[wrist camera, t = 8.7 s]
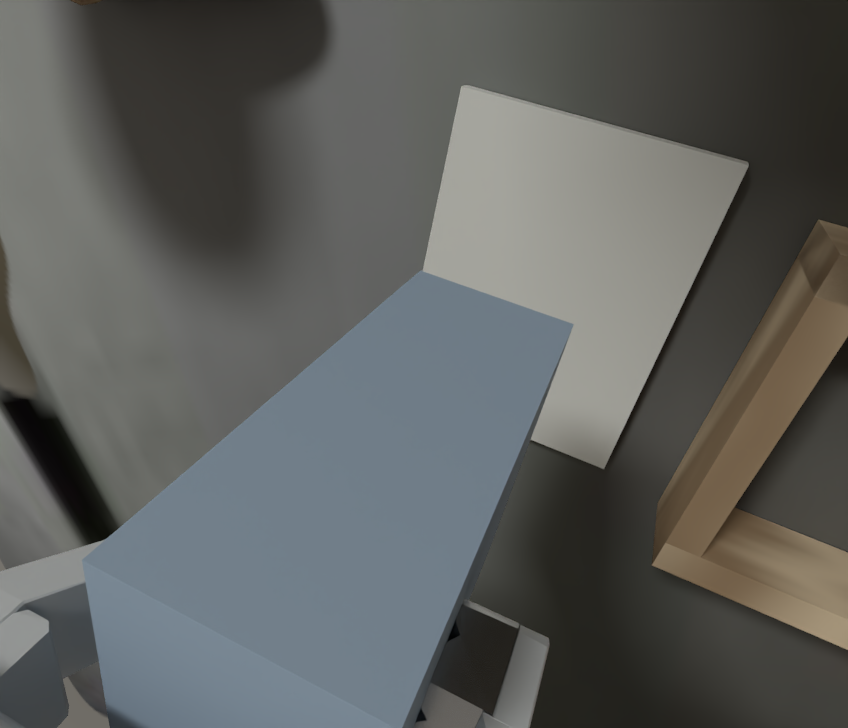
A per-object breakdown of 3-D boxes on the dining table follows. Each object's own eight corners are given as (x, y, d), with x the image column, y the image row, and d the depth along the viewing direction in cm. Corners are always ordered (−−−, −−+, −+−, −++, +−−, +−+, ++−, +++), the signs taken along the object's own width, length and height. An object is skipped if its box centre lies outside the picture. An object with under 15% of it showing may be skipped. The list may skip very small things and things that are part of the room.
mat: (747, 162, 18) (749, 165, 18) (605, 460, 24) (603, 469, 24) (467, 85, 20) (461, 86, 20) (404, 379, 26) (398, 386, 26)
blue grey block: (573, 324, 13) (400, 732, 5) (489, 548, 16) (320, 968, 9) (420, 270, 13) (81, 559, 6) (373, 495, 17) (129, 844, 10)
